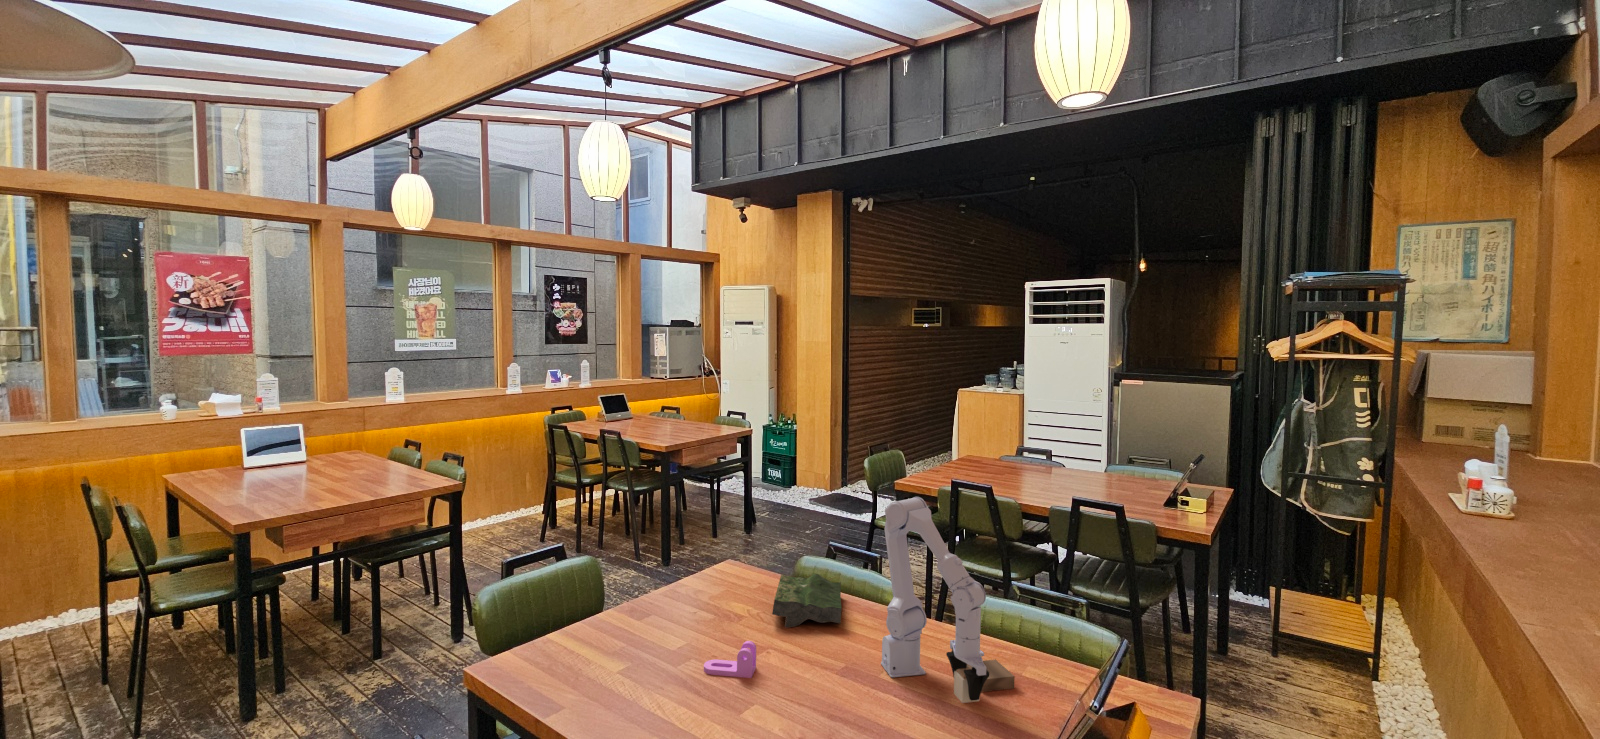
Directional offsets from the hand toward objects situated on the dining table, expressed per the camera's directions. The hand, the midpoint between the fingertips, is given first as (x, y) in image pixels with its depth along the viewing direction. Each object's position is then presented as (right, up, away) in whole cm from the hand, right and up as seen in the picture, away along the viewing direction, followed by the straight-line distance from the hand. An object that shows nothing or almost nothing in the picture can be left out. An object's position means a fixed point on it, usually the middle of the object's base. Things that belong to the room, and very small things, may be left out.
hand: (966, 691), depth 156 cm
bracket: (-58, -1, +11) cm, 59 cm away
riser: (+7, -1, +8) cm, 11 cm away
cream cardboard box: (0, -2, 0) cm, 2 cm away
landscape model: (-37, 0, +51) cm, 63 cm away
